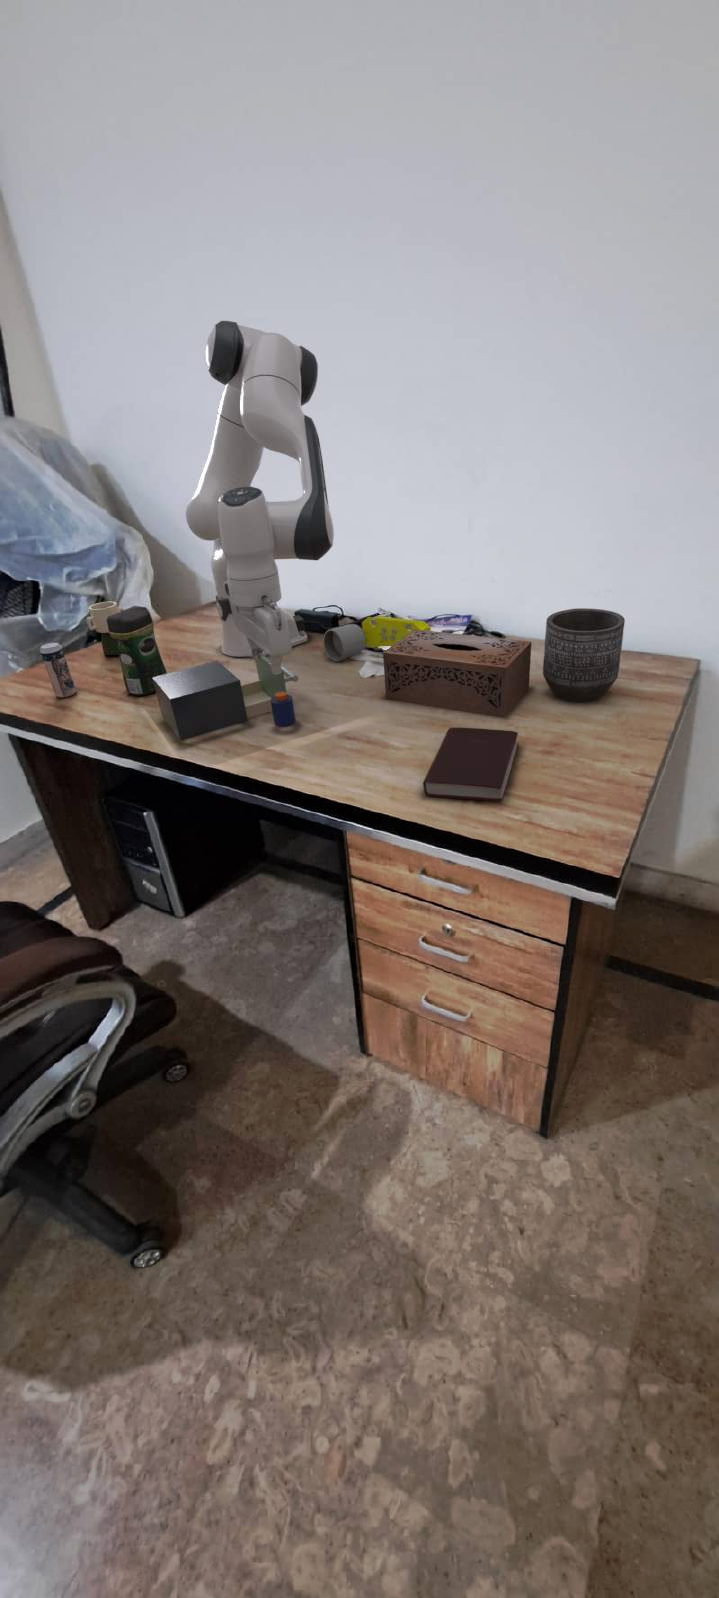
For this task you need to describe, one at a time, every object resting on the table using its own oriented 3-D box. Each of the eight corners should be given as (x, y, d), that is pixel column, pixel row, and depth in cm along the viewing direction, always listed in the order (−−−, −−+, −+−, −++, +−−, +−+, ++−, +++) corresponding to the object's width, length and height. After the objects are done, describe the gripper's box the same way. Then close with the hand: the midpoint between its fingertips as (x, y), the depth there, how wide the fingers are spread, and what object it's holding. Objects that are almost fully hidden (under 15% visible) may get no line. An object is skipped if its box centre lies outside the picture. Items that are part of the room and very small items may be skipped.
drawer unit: (226, 704, 145) (217, 660, 140) (249, 727, 135) (240, 680, 129) (164, 722, 140) (151, 677, 135) (182, 747, 130) (170, 699, 124)
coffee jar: (151, 678, 162) (130, 601, 152) (175, 683, 158) (155, 604, 148) (120, 694, 155) (97, 615, 145) (145, 699, 152) (122, 618, 142)
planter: (528, 697, 135) (531, 624, 127) (563, 673, 144) (569, 603, 136) (594, 713, 127) (603, 637, 119) (628, 687, 135) (638, 614, 127)
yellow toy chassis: (363, 650, 166) (360, 617, 161) (375, 642, 170) (372, 609, 165) (420, 658, 158) (419, 623, 154) (431, 650, 162) (430, 616, 158)
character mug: (126, 644, 185) (112, 597, 178) (141, 649, 181) (128, 600, 174) (91, 658, 179) (76, 609, 172) (106, 662, 175) (91, 613, 168)
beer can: (69, 698, 156) (52, 648, 149) (51, 698, 157) (34, 649, 150) (81, 690, 160) (64, 641, 153) (63, 690, 161) (46, 641, 154)
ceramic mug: (369, 654, 163) (367, 622, 159) (344, 664, 159) (341, 632, 155) (341, 646, 170) (337, 616, 166) (316, 656, 166) (312, 625, 162)
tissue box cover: (528, 688, 139) (531, 641, 134) (504, 717, 129) (506, 667, 123) (416, 672, 151) (414, 629, 146) (386, 698, 141) (382, 652, 135)
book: (422, 796, 108) (422, 779, 106) (448, 740, 123) (448, 724, 121) (501, 805, 104) (502, 787, 102) (518, 745, 119) (519, 729, 117)
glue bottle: (291, 721, 135) (285, 687, 131) (300, 729, 132) (295, 694, 128) (272, 727, 134) (266, 693, 130) (280, 735, 130) (274, 700, 126)
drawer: (282, 686, 150) (275, 646, 145) (308, 707, 139) (302, 663, 134) (205, 708, 143) (195, 666, 138) (226, 731, 133) (217, 687, 128)
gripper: (295, 600, 111) (304, 678, 119) (252, 575, 127) (263, 646, 134) (259, 608, 109) (271, 687, 116) (220, 582, 124) (233, 653, 132)
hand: (266, 665), depth 125 cm, fingers open, 8 cm apart
